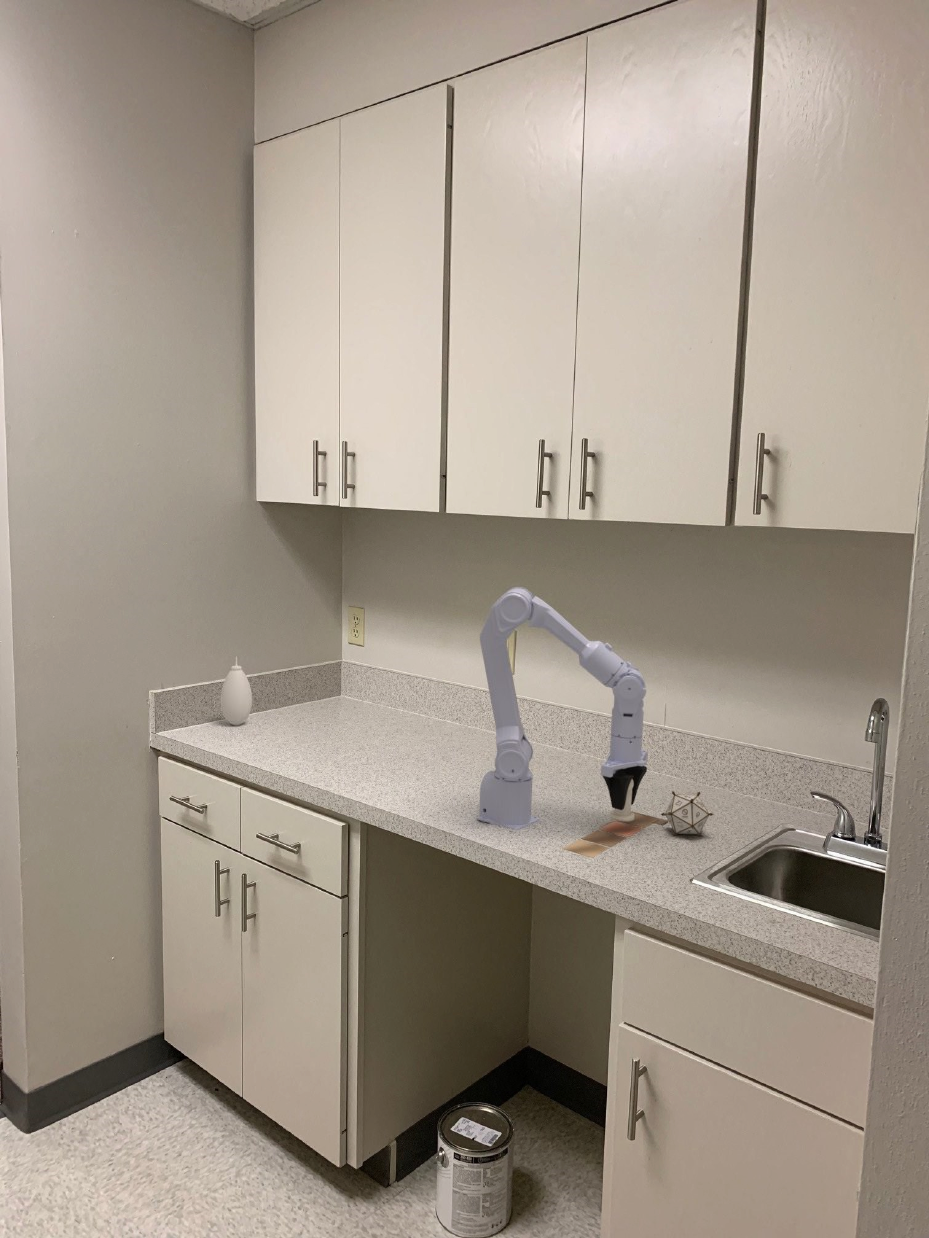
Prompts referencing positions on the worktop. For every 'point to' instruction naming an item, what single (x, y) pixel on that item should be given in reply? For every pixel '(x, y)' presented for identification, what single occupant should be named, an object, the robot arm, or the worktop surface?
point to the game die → (687, 814)
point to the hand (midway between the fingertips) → (622, 806)
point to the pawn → (626, 812)
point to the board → (612, 835)
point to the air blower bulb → (236, 696)
